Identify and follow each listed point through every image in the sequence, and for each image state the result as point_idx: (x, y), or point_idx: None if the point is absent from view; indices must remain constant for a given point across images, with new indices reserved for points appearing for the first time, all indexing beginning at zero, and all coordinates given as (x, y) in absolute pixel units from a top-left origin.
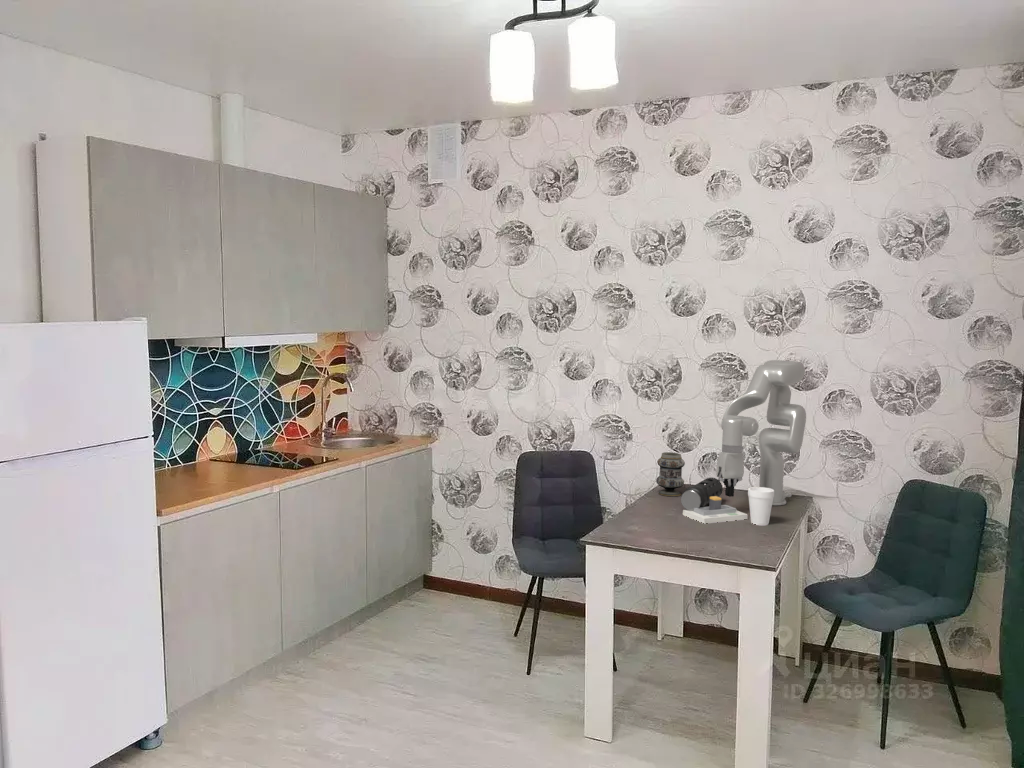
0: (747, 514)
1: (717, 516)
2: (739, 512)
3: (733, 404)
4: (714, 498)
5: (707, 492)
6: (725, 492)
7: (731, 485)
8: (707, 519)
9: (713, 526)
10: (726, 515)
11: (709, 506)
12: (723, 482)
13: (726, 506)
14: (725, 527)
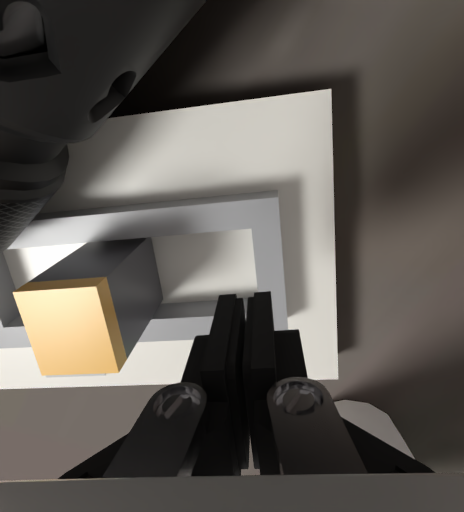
0: (337, 377)
1: (93, 375)
2: (313, 323)
3: None
4: (40, 367)
5: (35, 119)
6: (195, 342)
7: (260, 458)
8: (19, 384)
9: (50, 417)
10: (169, 365)
11: (71, 256)
12: (93, 470)
13: (253, 241)
14: (106, 446)
